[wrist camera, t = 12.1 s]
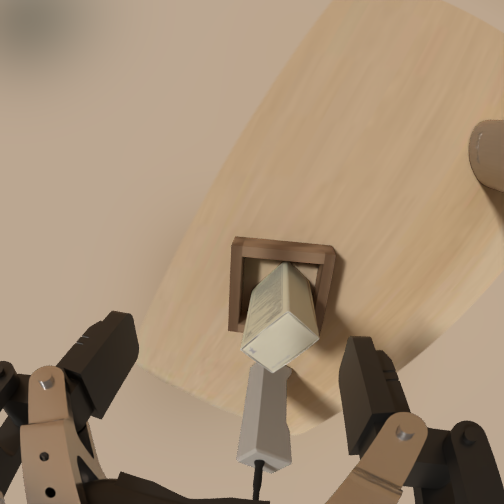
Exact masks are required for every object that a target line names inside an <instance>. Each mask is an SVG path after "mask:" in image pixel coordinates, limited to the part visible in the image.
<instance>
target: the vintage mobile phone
mask: <svg viewBox="0 0 504 504" xmlns="http://www.w3.org/2000/svg"><path fill="white" fill-rule="evenodd" d="M291 374H292V369H291V368H289V367H287V366H285V365H284V366H283V367H282V368H280V369H278V370H277V371H275V372H274V373H271V372H270V371H268V370H267V369H265V368H264V367H263V366H261V365H260V364H258V363H257V362H256V363H255V364H254V365H253V366H252V367H251V368H250V372H249V379H248V386H247V393H246V399H245V406H244V413H243V420H242V426H241V432H240V438H239V445H238V451H237V457H236V459H237V461H239V462H240V463H243V464H245V465H248V466H251V467H254V468H255V472H254V481H253V490H254V492H253V500H259V491H260V488H261V482H262V471H266V472H269V473H274V472H276V471H278V470H280V469H282V468H284V467H286V466H288V465H290V464H291V462H292V460H291V445H290V431H289V428H288V426H287V423H286V398H287V379H288V378H289V376H290V375H291Z"/></svg>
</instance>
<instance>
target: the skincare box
mask: <svg viewBox="0 0 504 504" xmlns="http://www.w3.org/2000/svg"><path fill="white" fill-rule="evenodd" d="M318 340H319V333H318V327H317V321H316V315H315V310H314V304H313V299H312V293H311V288H310V282H309V280H307V278H306V277H305V276H304V275H303V274H302V273H300V272H299V271H298V270H297V269H296V268H295V267H294V266H293V265H292V264H291V263H290V262H289V261H284V262H282V263H281V264H280V265H279V266H278V267H277V268H276V269H275V270H273V271H272V272H271V273H270V274H269V275H268V276H267V277H266V278H265V279H263V280H262V281H261V282H260V283H259V284H258V285H257V286H256V287H255V288H254V289H253V290H252V293H251V298H250V304H249V308H248V313H247V319H246V324H245V328H244V334H243V339H242V343H241V348H240V350H241V351H243V352H244V353H245V354H246V355H248V356H249V357H250V358H252V359H253V360H254V361H256V362H257V363H258V364H260V365H261V366H263V367H264V368H265V369H267V370H268V371H270V372H271V373H274V372H275V371H277V370H278V369H280V368H282V367H283V366H284V365H286V364H287V363H289V362H290V361H292V360H293V359H295V358H296V357H297V356H298V355H300V354H301V353H303V352H304V351H305V350H307V349H308V348H309V347H310V346H312V345H313V344H314V343H315V342H317V341H318Z"/></svg>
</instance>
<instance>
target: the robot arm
mask: <svg viewBox="0 0 504 504" xmlns="http://www.w3.org/2000/svg"><path fill="white" fill-rule="evenodd" d="M469 157H470V163H471V167H472V169H473V172H474V174H475V175H476V177H477V179H478V180H479V181H480V182H481V183H482V184H484V185H485V186H487V187H490V188H493V189H495V190H498V191H501V192H504V120H485V121H482V122H480V123H479V124H478V125H477V126H476V127H475V129H474V130H473V132H472V135H471V138H470V143H469ZM138 354H139V344H138V340H137V335H136V330H135V325H134V320H133V317H132V315H131V314H129V313H123V312H117V311H111V312H110V313H109V315H108V316H107V317H106V318H105V319H104V320H103V321H99V322H97V323H96V324H94V325H92V326H91V327H89V328H88V329H87V331H86V332H85V333H84V334H83V335H82V337H80V338H79V340H78V341H77V343H75V344H74V345H73V346H72V348H71V349H70V350H69V351H68V352H67V354H66V355H65V356H64V357H63V358H62V359H61V361H60V362H59V363H58V364H57V365H56V366H44V367H41V368H39V369H37V370H36V371H35V372H33V374H32V375H24V374H17V373H16V371H15V369H14V367H13V366H12V364H11V363H9V362H6V361H0V411H1V410H2V409H4V410H5V412H6V413H7V415H8V417H7V418H6V420H5V422H4V423H3V424H2V426H1V427H0V504H5V503H4V496H5V494H6V492H7V490H8V488H9V485H10V484H11V482H12V480H13V478H14V476H15V474H16V472H17V470H18V468H19V466H20V464H21V463H22V468H23V478H24V486H25V492H26V498H27V504H270V501H259V500H248V499H238V498H216V499H188V498H185V497H183V496H181V495H179V494H177V493H175V492H172V491H171V490H168V489H167V488H165V487H162V486H161V485H159V484H157V483H155V482H153V481H149V480H145V479H142V478H139V477H136V476H133V475H130V474H127V473H124V472H120V474H119V477H118V479H107V478H106V476H105V474H104V472H103V471H102V469H101V467H100V464H99V461H98V457H97V454H96V450H95V446H94V443H93V439H92V434H91V430H90V425H89V423H88V419H89V417H90V416H93V417H96V418H99V419H102V418H103V416H104V414H105V412H106V411H107V409H108V408H109V406H110V404H111V402H112V401H113V399H114V397H115V395H116V393H117V392H118V390H119V389H120V387H121V385H122V383H123V382H124V380H125V378H126V377H127V375H128V373H129V372H130V370H131V368H132V367H133V365H134V363H135V362H136V360H137V358H138ZM339 388H340V394H341V400H342V407H343V414H344V420H345V428H346V435H347V443H348V451H349V455H359V456H360V461H359V463H358V464H357V465H356V467H355V468H354V469H353V470H352V471H351V473H350V474H349V475H348V476H347V478H346V479H345V480H344V482H343V483H342V484H341V485H340V486H339V488H338V489H337V490H336V492H335V493H334V494H333V495H332V496H331V497H330V498H329V500H328V501H327V502H326V503H325V504H397V503H398V500H399V499H400V497H401V495H402V492H403V491H402V490H401V488H402V486H408V487H413V489H414V496H415V504H504V488H503V484H502V481H501V477H500V474H499V471H498V468H497V465H496V462H495V459H494V456H493V453H492V450H491V447H490V444H489V442H488V439H487V436H486V434H485V432H484V430H483V429H482V427H481V426H479V425H478V424H477V423H475V422H472V421H461V422H459V423H457V424H456V425H455V426H454V427H453V429H452V430H451V431H447V430H439V429H432V428H428V427H427V426H426V424H425V422H424V421H423V420H422V419H421V418H420V417H418V416H417V415H415V414H413V413H411V412H410V409H409V406H408V403H407V400H406V398H405V395H404V392H403V389H402V387H401V384H400V381H398V375H397V373H396V372H395V368H394V365H393V362H392V360H391V359H390V358H389V357H388V356H387V354H386V353H385V352H384V351H383V350H377V351H376V350H375V347H374V344H373V342H372V339H371V337H361V336H350V337H349V338H348V341H347V345H346V348H345V352H344V355H343V359H342V362H341V366H340V370H339Z"/></svg>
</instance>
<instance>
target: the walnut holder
mask: <svg viewBox="0 0 504 504" xmlns="http://www.w3.org/2000/svg"><path fill="white" fill-rule="evenodd" d="M244 257H252V258H262V259H272V260H283V261H293V262H304V263H314V264H319V267H318V273H317V279H316V284H315V290H314V295H313V304H314V310H315V315H316V321H317V327H318V333H319V336H320V331H321V327H322V323H323V318H324V314H325V309H326V304H327V300H328V295H329V290H330V285H331V280H332V275H333V269H334V264H335V258H336V254H335V252H334V250H333V247H332V246H328V245H319V244H309V243H299V242H288V241H278V240H267V239H257V238H246V237H235V239H234V241H233V243H232V245H231V268H230V294H229V322H228V331H234V332H242V333H244V328H245V324H246V319H247V313H248V312H242V311H241V305H242V289H243V272H244Z"/></svg>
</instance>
